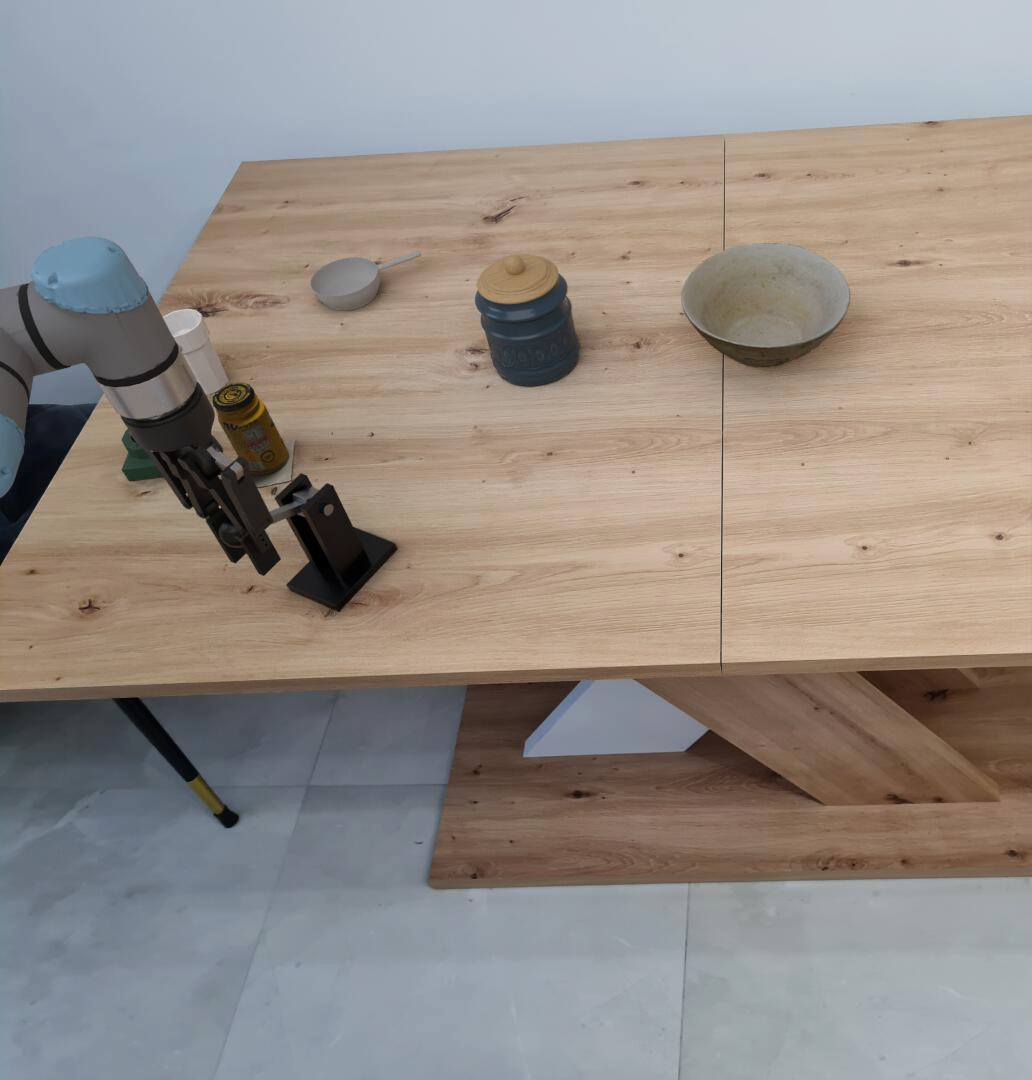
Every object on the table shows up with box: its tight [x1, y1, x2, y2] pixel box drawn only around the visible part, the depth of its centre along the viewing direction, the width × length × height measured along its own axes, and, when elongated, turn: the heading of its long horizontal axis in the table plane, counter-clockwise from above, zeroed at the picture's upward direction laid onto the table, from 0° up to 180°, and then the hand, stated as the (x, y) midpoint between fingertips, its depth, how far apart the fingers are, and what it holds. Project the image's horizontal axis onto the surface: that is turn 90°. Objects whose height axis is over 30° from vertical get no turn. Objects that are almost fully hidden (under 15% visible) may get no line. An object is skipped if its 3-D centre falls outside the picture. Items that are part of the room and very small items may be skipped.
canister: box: [474, 253, 581, 387], centre depth 148 cm, size 13×13×18 cm
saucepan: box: [309, 250, 422, 311], centre depth 169 cm, size 11×18×4 cm, turn 114°
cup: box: [162, 308, 230, 396], centre depth 152 cm, size 7×7×11 cm
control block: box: [121, 428, 164, 482], centre depth 145 cm, size 10×6×4 cm, turn 6°
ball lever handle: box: [219, 486, 320, 548], centre depth 116 cm, size 13×4×4 cm, turn 152°
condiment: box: [212, 382, 295, 488], centre depth 139 cm, size 7×8×12 cm
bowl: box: [680, 242, 851, 369], centre depth 149 cm, size 24×24×10 cm
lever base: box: [274, 472, 398, 613], centre depth 124 cm, size 11×8×14 cm
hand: (255, 560), depth 116 cm, fingers closed on ball lever handle, 4 cm apart
